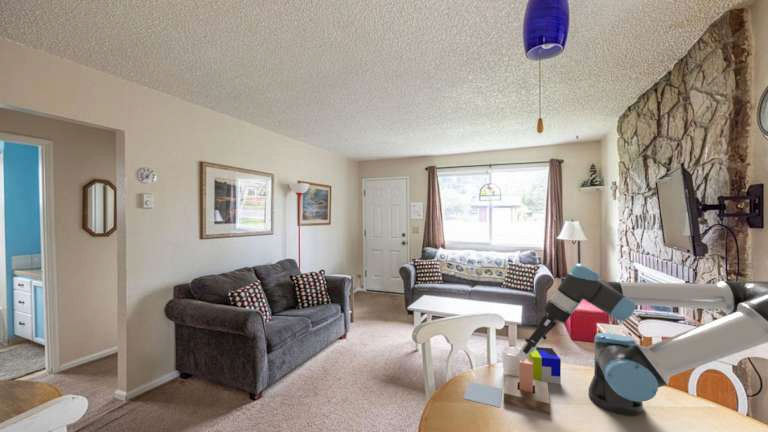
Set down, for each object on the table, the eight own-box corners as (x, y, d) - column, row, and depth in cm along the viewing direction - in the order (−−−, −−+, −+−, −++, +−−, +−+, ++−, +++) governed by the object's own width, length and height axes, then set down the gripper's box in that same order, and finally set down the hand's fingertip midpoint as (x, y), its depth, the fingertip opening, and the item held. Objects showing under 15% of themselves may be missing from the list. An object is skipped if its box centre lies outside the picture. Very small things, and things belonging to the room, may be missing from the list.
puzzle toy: (560, 385, 118) (560, 359, 118) (532, 382, 120) (532, 356, 120) (551, 372, 128) (551, 348, 128) (525, 369, 130) (526, 346, 130)
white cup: (502, 379, 122) (502, 354, 122) (501, 369, 130) (501, 345, 130) (524, 382, 120) (524, 356, 120) (521, 372, 127) (521, 348, 127)
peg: (532, 395, 110) (532, 359, 110) (532, 402, 106) (533, 364, 106) (519, 392, 112) (519, 357, 112) (519, 399, 108) (519, 362, 108)
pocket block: (547, 393, 113) (547, 382, 113) (549, 415, 100) (550, 403, 100) (505, 384, 118) (506, 373, 118) (503, 404, 106) (503, 393, 106)
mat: (502, 390, 114) (502, 388, 114) (499, 409, 103) (499, 407, 103) (469, 383, 119) (469, 381, 119) (463, 399, 108) (463, 398, 108)
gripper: (555, 295, 115) (523, 339, 119) (542, 302, 95) (504, 354, 100) (576, 309, 110) (541, 354, 115) (566, 319, 91) (526, 373, 95)
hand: (524, 354), depth 107 cm, fingers open, 13 cm apart
